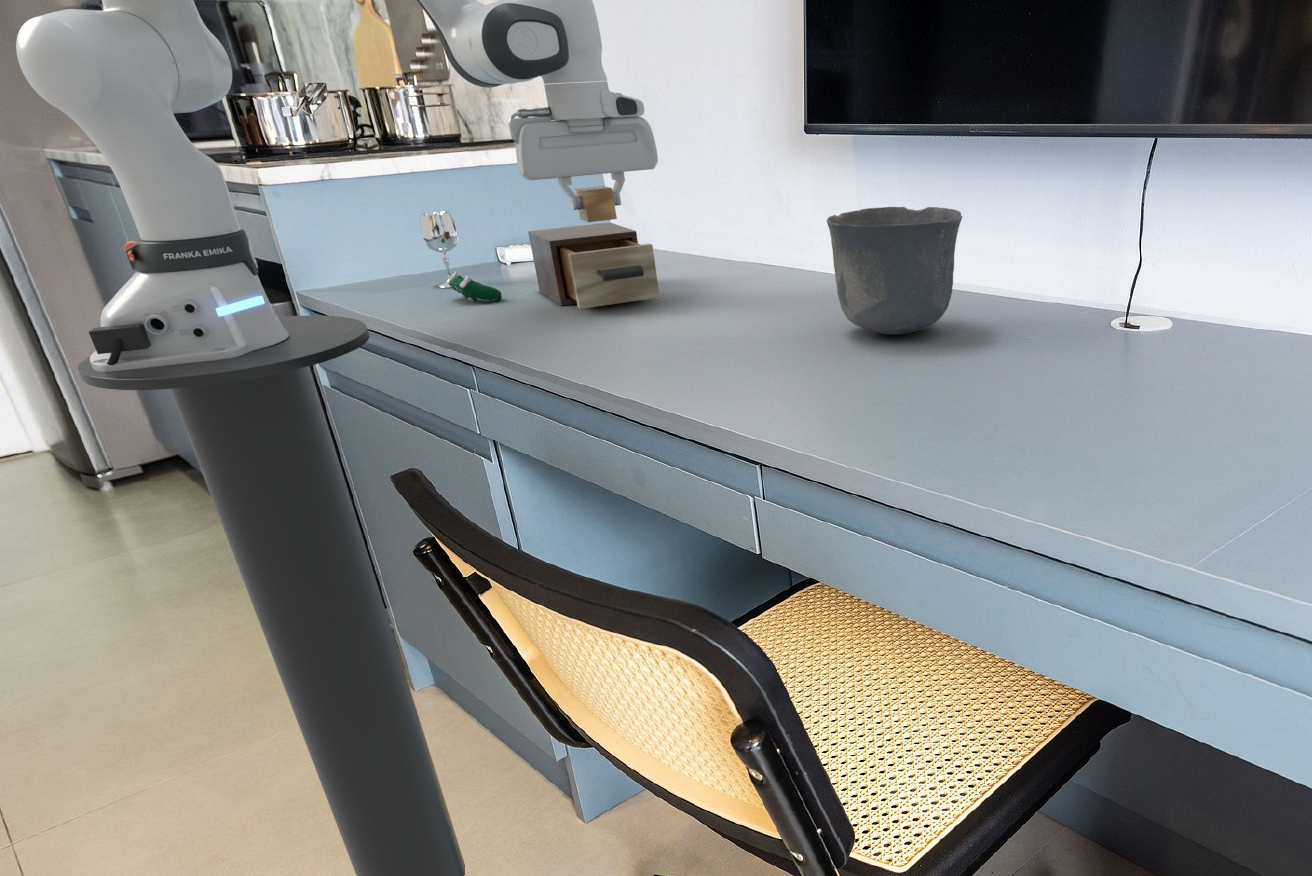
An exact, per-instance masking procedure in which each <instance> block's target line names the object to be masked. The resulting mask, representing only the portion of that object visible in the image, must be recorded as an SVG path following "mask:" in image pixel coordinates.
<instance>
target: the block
mask: <svg viewBox="0 0 1312 876" xmlns="http://www.w3.org/2000/svg"><path fill="white" fill-rule="evenodd" d="M612 190H613V187H608V186H605V185H597V186H588V187H587V186H586V187H577V188H574V192H575V196H581V197H582V204H583V209H579V210H578V214H579V219H580V220H581V221H584V222H587V223H595V222H602V221H603V222H604V221H612V220H617V219H618V217H617V211H616V206H615V204H614V198H613V191H612Z"/></svg>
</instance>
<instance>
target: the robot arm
mask: <svg viewBox="0 0 1312 876" xmlns="http://www.w3.org/2000/svg"><path fill="white" fill-rule="evenodd" d="M416 2H417V3H418V5H419V6H420V7H421V9H422V10H423V11H424V12H425V15H426V16H427V17H428V18H429V19H430V21H431V23H432V25H433V26H434V29H435V30H436V33H437V35H438V37H439V40H440V43H441V46H442V48H443V51H444V53H445V56H446V58H447V59H448V62H449V63H450V65H451V67H452V68H453V69H454V71H455V72H456V73H457V74H458V75H459V76H460V77H461V78H462V79H464V80H465V81H467V82H468V83H469V84H472V85H474V86H477V87H481V88H485V89H488V88H490V89H491V88H496V87H500V86H502V85H510V84H517V83H525V82H529V81H532V80H534V79H536V78H539V77H541V78H542V82H543V86H544V92H545V98H546V104H547V107H536V108H531V109H529V108H528V109H527V108H520V109H517V110H516V112H514V113H513V114H511V116H510V117H509V120H508V128H509V132H510V137H511V139H512V140H513V142H514V143H515V155H516V165H517V169H518V174H519V175H520V176H521V177H522V178H523V179H525V180H527V181H539V180H549V179H557V181H558V185H559V187H560V188H561V189H562V191H563V192H564V193H565V194H566V196H567V197H568V199H569V205H570V209H571V210H573V211H579V209H583V204H582V197H581V196H576V193H574V191H573V190H572V189H571V187H570V186H572V185H573V182H572V178H573V177H583V176H594V175H604V174H610V175H611V177H610V178H611V180H612V181H614V184H613V187H612V191H613V198H614V204H615V207H616V206H622V200H621V192H622V189H623V187H624V184H625V181H626V177H625V173H626V172H638V171H647V170H654V169H655V168H656V167H657V165H658V164H659V163H658V162H659V157H658V150H657V145H656V141H655V137H654V133H653V130H652V127H651V125H650V123H649V122H648V120H646V119H645V118H644V117H642V116H643V115H644V114H645V104H644V102H643V101H642V100H641V99H638V98H636V97H632V96H629V95H625V94H622V93H620V92H614V91H612V90H611V91H610V88H609V82H608V77H607V75H606V72H605V70H604V67H603V62H602V52H603V46H602V45H603V43H602V38H601V32H600V31H601V30H600V26H599V21H598V16H597V12H596V7H595V5H594V0H497V1H494V2H492V3H491V2H490V3H488V4H484V3H482V2H480V1H478V0H416ZM101 3H102V9H101V10H98V9H80V8H79V9H78V8H76V9H75V8H65V9H62V10H57V11H53V12H48V13H45V14H42V15H37V16H35V17H32V18H30V19H27V20H26V21H25V22H24V23H23V25H21V27H20V28H19V31H18V33H17V36H16V43H15V49H16V50H15V51H16V57H17V61H18V65H19V68H20V69H21V72H22V74H23V75H24V78H25V79H26V81H27V82H28V83H29V85H30V87H31V88H32V89H33V91H35V92H36V93H37V95H39V96H40V98H42V99H43V100H44V101H46V102H47V103H48V104H50V105H51V106H53V107H55V108H56V109H58V110H59V111H60V112H62V113H63V114H65V115H67V117H68V118H70V119H71V120H72V121H73V122H74V123H75V124H76V125H77V126H78V127H79V128H80V129H81V130H82V131H83V132H84V133H85V134H86V136H87V137H88V138H89V139H90V140H91V141H92V143H93V144H94V145H95V147H96V148H97V150H98V151H99V152H100V154H101V155H102V156H103V158H104V160H105V161H106V163H107V164H108V166H109V167H110V169H111V171H112V173H113V174H114V177H115V178H116V181H117V182H118V185H119V187H120V189H121V192H122V195H123V197H124V198H125V201H126V205H127V207H128V209H129V212H130V214H131V216H132V219H133V221H134V224H135V227H136V229H137V232H138V235H139V240H137V241H135V240H130V241H128V242H126V243H125V245H124V246H123V251H124V254H125V256H126V257H127V260H128V263H129V265H130V267H131V269H132V271H136V272H135V273H134V274H133V275H132V276H131V277H130V278H129V279H128V280H127V281H126V283H124V284H123V286H122V287H121V288H120V289H119V290H118V291H117V293H115V295H114V296H113V297H112V298H111V299H110V300H109V301H108V303H107V304H106V305H105V306H104V307H103V309H102V311H101V314H100V326H99V327H98V326H97V327H93V328H92V329H91V330H89V331H88V334H89V337H90V339H91V341H92V345H93V347H94V349H95V351H93V353H91V354H90V355H89V357H90V363H91V366H92V368H93V369H94V370H96V371H100V372H112V371H121V370H130V369H140V368H149V367H158V366H167V365H176V364H185V363H194V362H203V361H212V360H221V359H230V358H235V357H239V356H241V355H244V354H246V353H248V352H251V351H254V350H257V349H261V348H264V347H268V346H271V345H274V344H277V343H279V342H281V341H283V340H285V339H287V338H288V337H289V334H288V332H287V331H286V329H285V328H284V326H283V325H282V323H281V322H280V320H279V318H278V317H279V316H278V315H277V313H276V311H275V310H274V307H273V306H272V304H271V302H270V300H269V298H268V296H267V293H266V292H265V289H264V286H263V285H262V283H261V281H260V277H259V275H258V273H259V270H258V269H259V266H258V263H257V259H256V257H255V253H254V249H253V246H252V243H251V241H250V238H248V235H247V233H246V231H245V230H244V229H243V228H241V226H240V223H239V219H238V216H237V213H236V210H235V207H234V204H233V200H232V197H231V194H230V191H229V189H228V185H227V182H226V180H225V175H224V173H223V171H222V169H221V167H220V166H219V165H218V163H217V161H215V160H214V159H213V158H211V157H210V156H208V155H207V154H205V153H203V152H202V151H201V150H199V149H198V148H197V147H196V146H195V145H194V144H193V142H192V141H191V140H190V139H189V137H188V136H187V135H186V133H185V132H184V130H183V129H182V127H181V126H180V124H179V122H178V121H177V119H176V116H175V114H184V113H185V114H187V113H193V112H198V111H200V110H202V109H205V108H207V107H211V106H212V105H215V104H216V103H218V102H220V101H221V100H223V99H224V98H225V97H226V96H227V95H228V94H229V91H231V86H232V83H233V69H232V64H231V61H230V57H229V55H228V53H227V51H226V49H225V47H224V46H223V45H222V43H221V42H220V40H219V39H218V38H217V37H216V36H215V35H214V34H213V33H212V32H211V30H209V28H208V27H207V26H206V24H205V22H204V21H203V19H202V17H201V15H200V13H199V11H198V7H197V5H196V4H195V1H194V0H101ZM516 117H517V118H516Z"/></svg>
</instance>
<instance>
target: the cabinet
mask: <svg viewBox="0 0 1312 876" xmlns="http://www.w3.org/2000/svg"><path fill="white" fill-rule="evenodd" d="M527 234H528V238H529V244H530V248H531V254H532V259H533V263H534V269H535V275H536V279H537V284H538V289H539V293H540V294H541V295H543V296H545V297H546V298H549V300H551V301H553V302H555V303H556V304H558V305H559V306H561V307H565V306H571V305H577V301H576V300H574V299H573V298H571V297H569V296H567V295H566V294H565V292H564V286H563V281H562V275H561V270H560V265H559V259H558V254H557V248H556V246H565V245H573V244H582V243H590V242H599V241H607V240H616V239H627V240H630V241H633V242H635V243H638V244H639V241H638V234H637V231H636V230H635V229H632V228H628V227H625V226H622V225H619V224H616V223H613V222H611V221H610V222H602V223H591V224H583V225H582V224H581V225H574V226H566V227H565V226H564V227H555V228H547V229H536V230H528V232H527Z"/></svg>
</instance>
